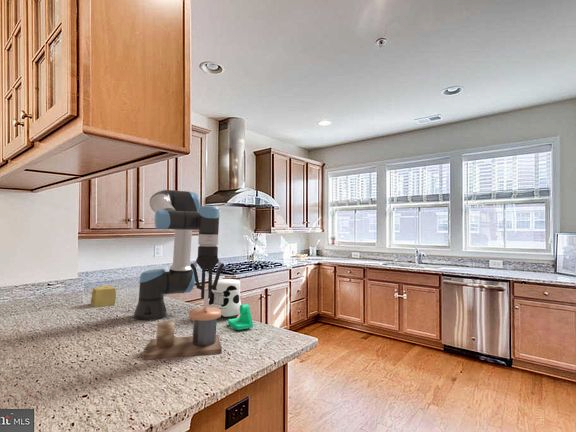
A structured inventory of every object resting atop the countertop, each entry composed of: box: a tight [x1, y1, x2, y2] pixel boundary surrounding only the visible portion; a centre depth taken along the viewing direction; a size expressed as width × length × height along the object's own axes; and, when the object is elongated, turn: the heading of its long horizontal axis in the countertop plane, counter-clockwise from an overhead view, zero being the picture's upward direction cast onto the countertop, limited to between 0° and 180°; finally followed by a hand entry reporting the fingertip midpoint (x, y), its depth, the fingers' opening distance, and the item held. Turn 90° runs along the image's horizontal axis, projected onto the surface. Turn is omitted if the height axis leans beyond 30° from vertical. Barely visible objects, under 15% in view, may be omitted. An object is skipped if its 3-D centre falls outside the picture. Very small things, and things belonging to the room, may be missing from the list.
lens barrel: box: [192, 319, 217, 347], centre depth 120 cm, size 8×8×10 cm
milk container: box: [208, 278, 242, 319], centre depth 163 cm, size 17×17×18 cm
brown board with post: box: [143, 320, 223, 360], centre depth 118 cm, size 26×16×10 cm, turn 107°
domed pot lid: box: [188, 306, 221, 321], centre depth 120 cm, size 12×12×5 cm
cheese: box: [90, 285, 117, 308], centre depth 178 cm, size 10×11×10 cm
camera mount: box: [227, 303, 254, 330], centre depth 145 cm, size 12×8×10 cm, turn 32°
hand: (205, 306), depth 120 cm, fingers closed
